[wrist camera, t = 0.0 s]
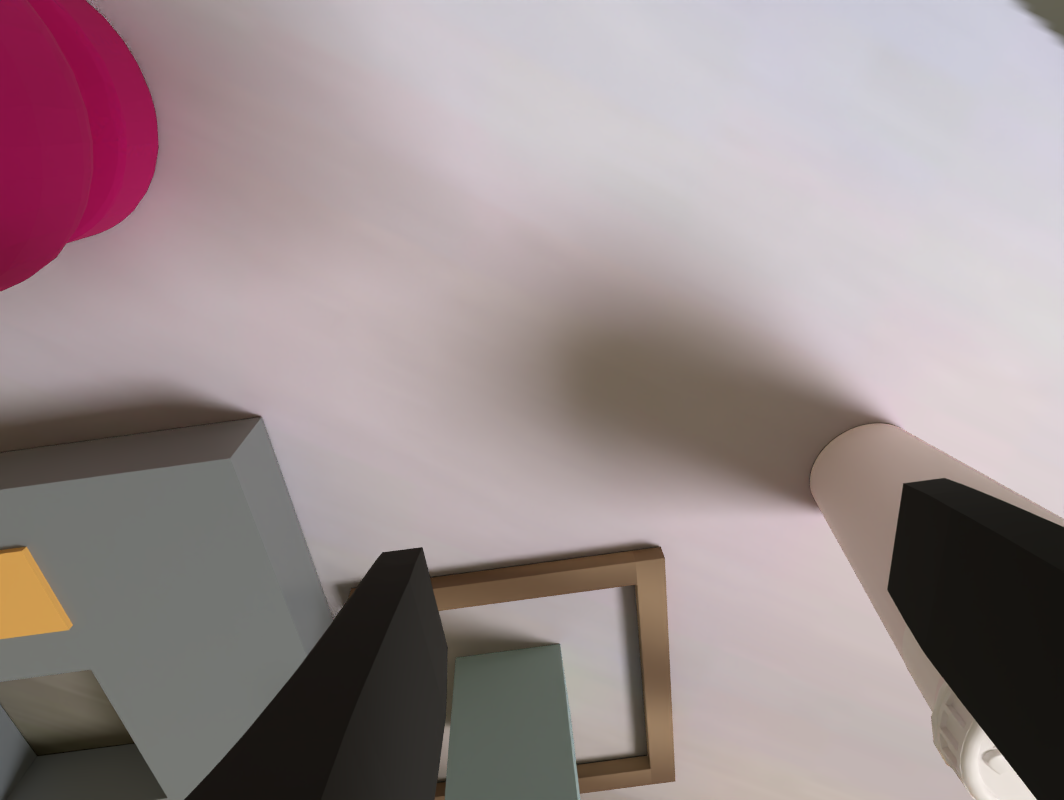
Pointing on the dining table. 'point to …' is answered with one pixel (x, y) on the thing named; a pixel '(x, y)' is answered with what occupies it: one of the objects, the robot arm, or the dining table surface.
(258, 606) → the socket board
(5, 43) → the pepper mill
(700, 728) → the dining table surface
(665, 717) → the frame
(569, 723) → the peg
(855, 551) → the smoothie
